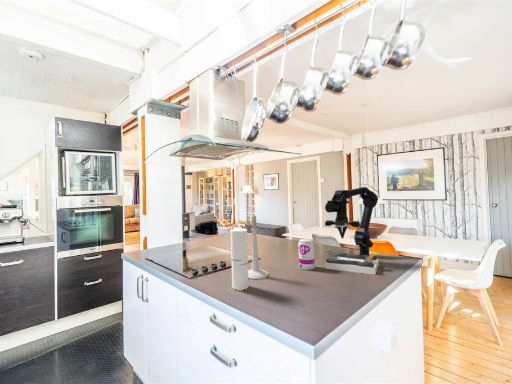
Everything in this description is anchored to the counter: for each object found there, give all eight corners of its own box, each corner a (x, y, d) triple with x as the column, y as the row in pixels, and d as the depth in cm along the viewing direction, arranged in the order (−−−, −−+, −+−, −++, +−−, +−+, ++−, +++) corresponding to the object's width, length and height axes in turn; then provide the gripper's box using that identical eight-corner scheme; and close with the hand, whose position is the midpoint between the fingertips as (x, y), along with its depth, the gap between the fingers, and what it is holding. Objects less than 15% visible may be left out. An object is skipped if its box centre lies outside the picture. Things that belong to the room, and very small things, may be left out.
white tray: (333, 260, 152) (333, 251, 152) (378, 265, 140) (378, 255, 140) (325, 268, 137) (325, 259, 137) (375, 274, 125) (374, 264, 125)
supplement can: (310, 271, 133) (310, 242, 133) (296, 268, 138) (295, 240, 138) (317, 267, 139) (316, 239, 139) (303, 265, 144) (302, 238, 144)
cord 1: (326, 261, 140) (326, 257, 140) (374, 266, 128) (374, 262, 128) (325, 262, 137) (325, 258, 137) (374, 268, 125) (373, 263, 125)
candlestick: (271, 272, 133) (269, 213, 133) (264, 280, 121) (262, 216, 121) (247, 270, 137) (246, 213, 137) (238, 278, 124) (237, 216, 124)
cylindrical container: (233, 284, 116) (231, 228, 116) (249, 284, 116) (247, 228, 116) (231, 290, 109) (229, 231, 109) (248, 290, 109) (246, 231, 109)
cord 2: (332, 255, 152) (332, 251, 152) (377, 259, 140) (376, 255, 140) (331, 256, 149) (331, 253, 149) (376, 260, 138) (376, 257, 138)
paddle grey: (333, 258, 145) (328, 249, 147) (335, 256, 145) (330, 248, 146) (331, 259, 142) (326, 251, 143) (333, 258, 141) (328, 250, 142)
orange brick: (366, 259, 137) (371, 251, 136) (369, 261, 136) (374, 253, 135) (365, 261, 133) (370, 253, 132) (368, 263, 132) (373, 255, 131)
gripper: (322, 212, 149) (323, 239, 149) (356, 212, 140) (357, 241, 140) (326, 211, 158) (327, 236, 158) (359, 211, 149) (360, 238, 149)
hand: (342, 238), depth 151 cm, fingers closed
